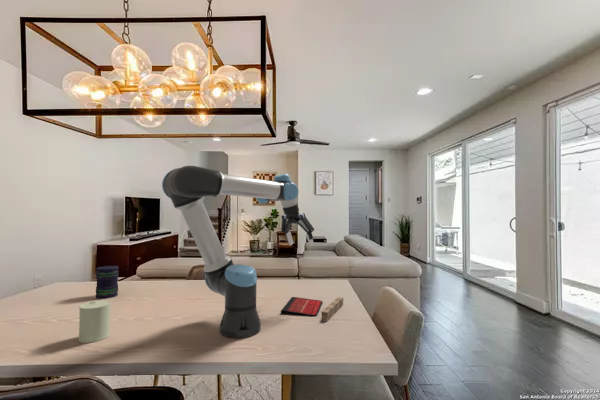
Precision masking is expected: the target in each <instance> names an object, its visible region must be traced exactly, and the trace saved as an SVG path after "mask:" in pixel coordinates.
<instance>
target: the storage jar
mask: <svg viewBox="0 0 600 400" xmlns="http://www.w3.org/2000/svg"><path fill="white" fill-rule="evenodd" d="M119 272H120V271H119V266H118V265H103V266H98V267H96V273H95V274H96V275H95V276H96V277H95V278H96V286H95V295H96V296H95V299H98V300H106V299H111V298H112V299H113V298H116V297H117V296H118V295H119V293H118V292H119V284H118V283H119V282H118V280H119V279H118V278H119Z"/></svg>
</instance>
